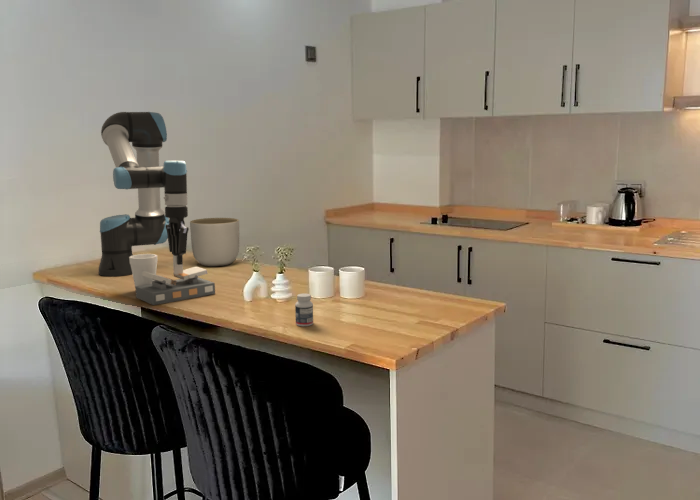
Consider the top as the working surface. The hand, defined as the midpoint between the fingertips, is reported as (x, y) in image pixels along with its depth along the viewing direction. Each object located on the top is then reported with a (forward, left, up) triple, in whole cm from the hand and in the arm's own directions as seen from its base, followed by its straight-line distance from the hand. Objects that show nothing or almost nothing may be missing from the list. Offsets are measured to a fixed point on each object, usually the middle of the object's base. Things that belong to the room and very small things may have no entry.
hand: (178, 273), depth 227 cm
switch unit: (0, -1, -8) cm, 8 cm away
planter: (-41, +38, -8) cm, 57 cm away
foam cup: (-13, -7, -8) cm, 17 cm away
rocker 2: (0, +5, -1) cm, 5 cm away
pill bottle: (+58, +11, -8) cm, 59 cm away
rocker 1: (0, -7, -1) cm, 7 cm away
